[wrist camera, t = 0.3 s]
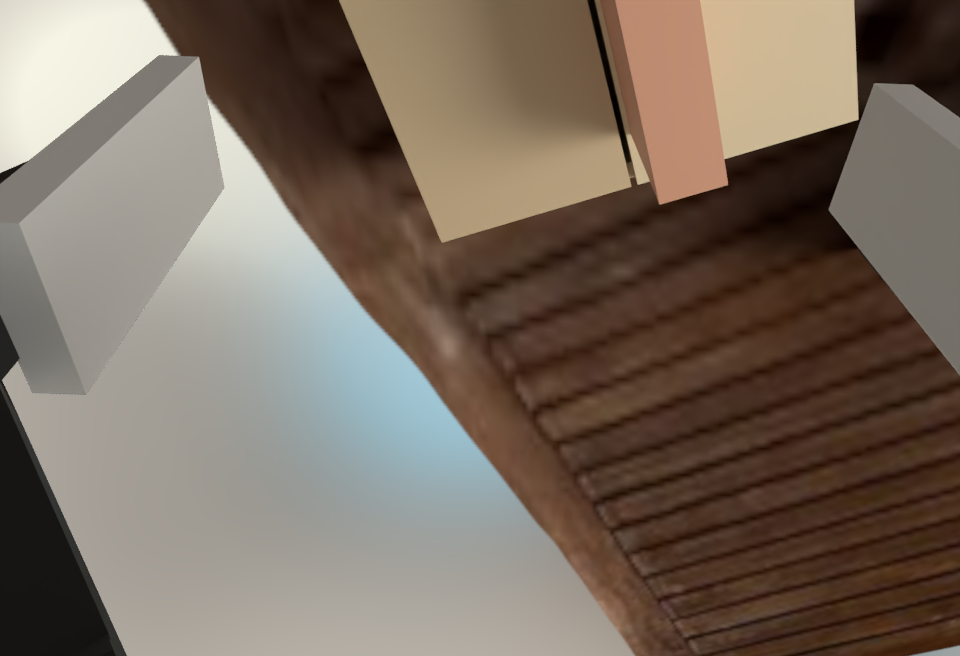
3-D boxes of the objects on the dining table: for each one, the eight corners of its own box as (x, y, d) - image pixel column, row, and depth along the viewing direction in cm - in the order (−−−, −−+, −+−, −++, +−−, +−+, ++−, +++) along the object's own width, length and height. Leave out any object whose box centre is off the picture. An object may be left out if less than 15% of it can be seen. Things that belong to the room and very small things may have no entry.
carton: (353, -90, 37) (308, -56, 28) (754, -252, 33) (848, -273, 24) (449, 158, 45) (438, 246, 36) (782, 52, 41) (862, 121, 32)
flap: (557, -157, 27) (576, -146, 20) (834, -269, 25) (951, -294, 18) (635, 177, 34) (666, 261, 28) (851, 113, 32) (937, 187, 26)
